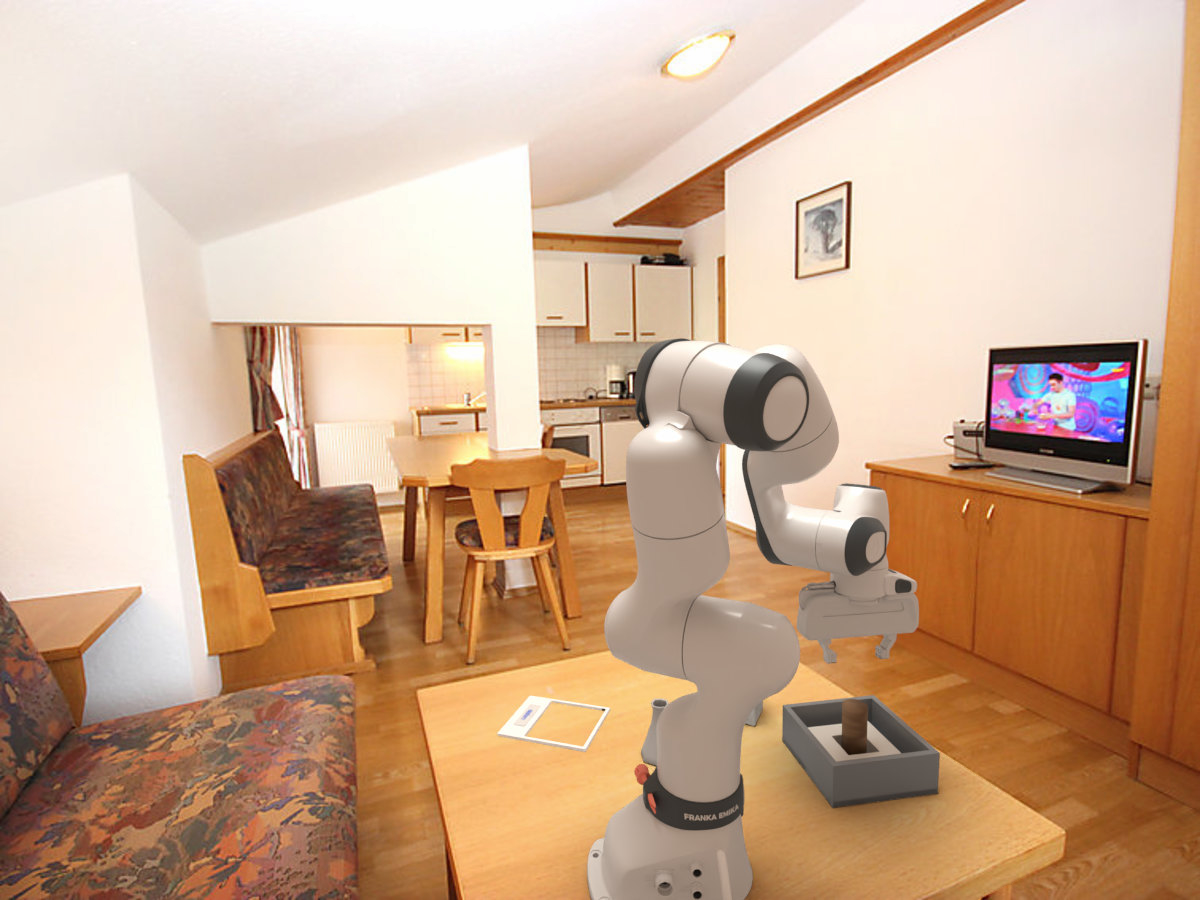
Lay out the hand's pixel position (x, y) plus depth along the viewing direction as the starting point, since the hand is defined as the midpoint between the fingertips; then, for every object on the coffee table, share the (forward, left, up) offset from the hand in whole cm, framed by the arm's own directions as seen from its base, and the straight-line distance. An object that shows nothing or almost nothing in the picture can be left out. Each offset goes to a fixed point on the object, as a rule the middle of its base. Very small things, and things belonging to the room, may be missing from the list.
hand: (856, 659), depth 103 cm
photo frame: (-50, +23, -20) cm, 58 cm away
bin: (0, 0, -19) cm, 19 cm away
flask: (-32, +9, -20) cm, 38 cm away
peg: (0, 0, -18) cm, 18 cm away
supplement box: (-13, +19, -20) cm, 30 cm away
